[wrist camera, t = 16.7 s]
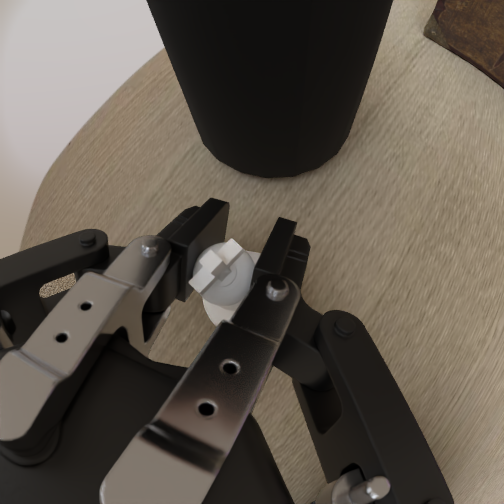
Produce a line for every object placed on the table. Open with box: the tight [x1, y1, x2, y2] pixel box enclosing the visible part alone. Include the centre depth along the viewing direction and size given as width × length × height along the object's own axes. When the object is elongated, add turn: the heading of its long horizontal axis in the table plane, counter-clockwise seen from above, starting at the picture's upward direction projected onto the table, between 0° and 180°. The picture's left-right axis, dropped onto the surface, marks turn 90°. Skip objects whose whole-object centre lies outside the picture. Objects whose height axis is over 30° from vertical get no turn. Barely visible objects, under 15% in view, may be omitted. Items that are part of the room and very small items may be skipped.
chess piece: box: [188, 238, 261, 327], centre depth 13 cm, size 5×5×10 cm
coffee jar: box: [147, 0, 393, 178], centre depth 12 cm, size 11×11×18 cm
